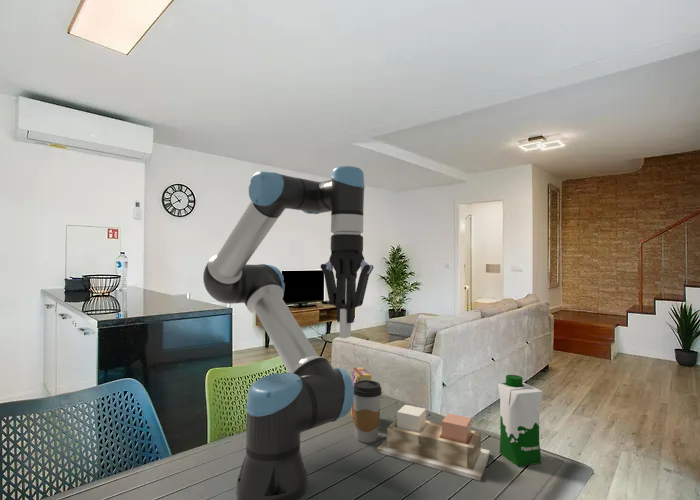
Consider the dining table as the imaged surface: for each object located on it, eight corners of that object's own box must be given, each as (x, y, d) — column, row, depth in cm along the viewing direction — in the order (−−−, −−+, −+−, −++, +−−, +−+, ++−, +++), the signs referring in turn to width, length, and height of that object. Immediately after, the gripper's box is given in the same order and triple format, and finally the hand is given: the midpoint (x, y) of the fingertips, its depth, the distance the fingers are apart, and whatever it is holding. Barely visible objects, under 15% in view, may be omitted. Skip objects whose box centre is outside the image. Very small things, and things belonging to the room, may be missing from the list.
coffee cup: (381, 432, 111) (382, 380, 112) (380, 445, 103) (381, 389, 103) (353, 430, 112) (353, 379, 112) (350, 443, 104) (351, 388, 104)
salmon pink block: (441, 449, 95) (441, 421, 95) (447, 440, 100) (448, 413, 100) (466, 455, 92) (466, 426, 92) (471, 445, 97) (471, 418, 98)
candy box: (371, 425, 116) (371, 374, 116) (357, 426, 115) (358, 375, 115) (363, 414, 124) (364, 367, 125) (350, 415, 123) (351, 367, 124)
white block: (396, 438, 101) (397, 411, 101) (404, 429, 106) (405, 404, 106) (418, 443, 98) (418, 416, 98) (425, 434, 103) (426, 408, 103)
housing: (376, 452, 99) (377, 428, 99) (396, 431, 111) (397, 411, 112) (480, 481, 87) (480, 454, 87) (490, 454, 99) (490, 431, 99)
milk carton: (522, 447, 103) (521, 373, 103) (547, 465, 94) (547, 383, 95) (494, 451, 100) (494, 375, 101) (517, 469, 92) (517, 386, 92)
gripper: (379, 235, 88) (377, 337, 87) (331, 236, 94) (329, 331, 93) (365, 232, 81) (363, 343, 81) (314, 233, 88) (312, 336, 87)
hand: (345, 336), depth 87 cm, fingers closed
